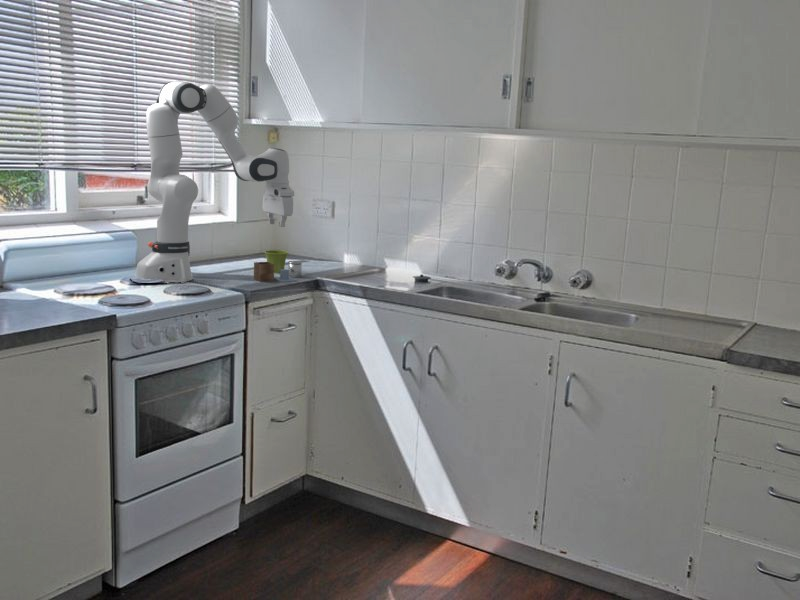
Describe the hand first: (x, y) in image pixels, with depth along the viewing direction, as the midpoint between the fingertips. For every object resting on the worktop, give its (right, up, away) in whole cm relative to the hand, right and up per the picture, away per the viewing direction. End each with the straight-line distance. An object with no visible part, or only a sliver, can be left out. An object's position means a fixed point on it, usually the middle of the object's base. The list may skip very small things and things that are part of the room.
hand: (276, 225), depth 334 cm
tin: (+8, -21, -5) cm, 23 cm away
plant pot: (-1, -19, +4) cm, 19 cm away
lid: (+5, -23, -14) cm, 27 cm away
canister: (-3, -23, -16) cm, 28 cm away
